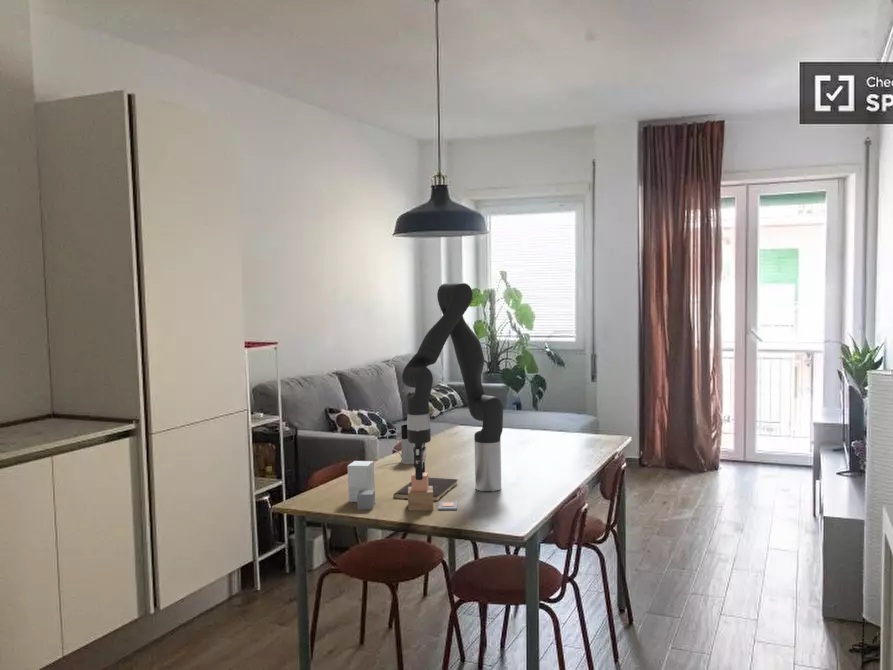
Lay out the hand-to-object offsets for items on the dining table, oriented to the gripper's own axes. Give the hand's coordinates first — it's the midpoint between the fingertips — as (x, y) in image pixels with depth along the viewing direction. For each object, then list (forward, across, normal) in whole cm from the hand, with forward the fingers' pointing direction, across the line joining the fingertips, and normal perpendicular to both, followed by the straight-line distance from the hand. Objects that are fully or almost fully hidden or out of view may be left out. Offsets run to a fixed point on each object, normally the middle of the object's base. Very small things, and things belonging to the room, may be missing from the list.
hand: (420, 476), depth 248 cm
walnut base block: (+10, 0, 0) cm, 10 cm away
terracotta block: (+4, 0, 0) cm, 4 cm away
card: (+10, 0, +9) cm, 13 cm away
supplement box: (+10, -9, -21) cm, 25 cm away
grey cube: (+10, 0, -18) cm, 21 cm away
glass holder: (+11, -66, -13) cm, 68 cm away
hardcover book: (+11, -20, 0) cm, 23 cm away
